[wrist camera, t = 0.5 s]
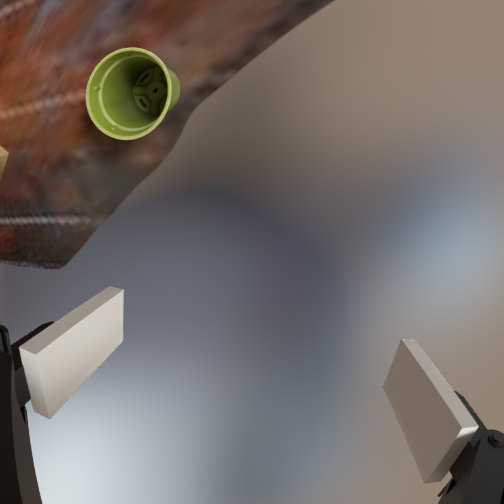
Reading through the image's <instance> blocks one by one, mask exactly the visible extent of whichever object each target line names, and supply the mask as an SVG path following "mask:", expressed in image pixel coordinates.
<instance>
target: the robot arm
mask: <svg viewBox="0 0 504 504" xmlns="http://www.w3.org/2000/svg"><path fill="white" fill-rule="evenodd" d="M123 293H124V291H123V289H119V288H114V287H108V288H106V289H105V290H103V291H102V292H100V293H98V294H97V295H95V296H94V297H92V298H91V299H89V300H88V301H86V302H85V303H83V304H82V305H80V306H79V307H77V308H76V309H74V310H73V311H71V312H70V313H68V314H67V315H65V316H64V317H62V318H61V319H59V320H58V321H56V322H53V321H52V322H49V323H46V324H42V325H41V326H39V327H38V328H36V329H35V330H34V331H32V332H30V333H29V334H28V335H26V336H24V337H23V338H21V339H20V340H18V341H17V342H15V343H14V344H12V345H11V344H10V339H9V333H8V329H7V328H6V327H5V326H2V325H0V504H42V500H41V496H40V492H39V488H38V484H37V478H36V473H35V468H34V463H33V457H32V451H31V444H30V437H29V428H28V419H27V411H26V407H25V404H26V403H27V402H28V401H29V400H30V399H31V402H32V406H33V410H34V411H35V412H36V413H39V414H40V415H42V416H44V417H46V418H48V419H51V418H52V416H53V415H54V414H55V413H56V412H57V411H58V410H59V409H60V408H61V407H62V406H63V404H64V403H65V402H66V401H67V400H68V399H69V398H70V397H71V396H72V395H73V394H74V392H75V391H76V390H77V389H78V388H79V387H80V386H81V385H82V384H83V383H84V382H85V380H87V378H88V377H89V376H90V375H91V374H92V373H93V372H94V371H95V370H96V369H97V368H98V367H99V365H101V363H102V362H103V361H104V360H105V359H106V358H107V357H108V356H109V355H110V354H111V353H112V352H113V351H114V350H115V349H116V348H117V347H118V345H119V344H120V343H121V342H122V341H123ZM383 388H384V390H385V392H386V395H387V397H388V399H389V401H390V403H391V405H392V408H393V410H394V412H395V414H396V417H397V419H398V421H399V424H400V426H401V428H402V431H403V433H404V435H405V438H406V440H407V442H408V445H409V447H410V450H411V452H412V454H413V457H414V459H415V462H416V464H417V467H418V469H419V472H420V474H421V476H422V479H423V481H424V483H432V482H439V481H441V480H442V479H443V478H444V476H445V475H446V474H447V473H448V471H450V473H451V474H452V478H451V480H450V481H449V482H448V483H447V485H446V486H445V487H444V488H443V490H442V491H441V492H440V493H439V494H438V496H439V497H440V496H441V495H442V497H441V499H440V501H439V503H438V504H504V434H503V433H501V432H500V431H497V430H487V429H486V427H485V426H484V424H483V423H482V421H481V420H480V419H479V418H478V416H477V414H476V413H475V412H473V411H474V410H473V409H472V408H471V407H470V406H469V404H468V402H467V401H466V400H465V398H464V397H463V396H462V395H460V394H459V393H458V392H456V391H453V389H452V388H451V387H450V385H449V384H448V383H447V381H446V380H445V379H444V377H443V376H442V375H441V373H440V372H439V371H438V369H437V368H436V367H435V366H434V364H433V363H432V362H431V360H430V359H429V358H428V356H427V355H426V354H425V353H424V351H423V350H422V349H421V347H420V346H419V345H418V344H417V342H416V341H415V340H410V339H401V341H400V344H399V346H398V349H397V351H396V354H395V357H394V360H393V362H392V365H391V367H390V370H389V373H388V375H387V377H386V380H385V382H384V385H383Z"/></svg>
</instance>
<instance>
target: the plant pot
mask: <svg viewBox="0 0 504 504" xmlns="http://www.w3.org/2000/svg"><path fill="white" fill-rule="evenodd" d="M146 74H149V76H148V77H147V78H146V79H145V80H144V81H143V82H141V79H142V78H143V77H144V76H145V75H146ZM154 89H158V91H157V92H156V93H155V92H154ZM179 95H180V82H179V79H178V77H177V76H176V74H175V73H174V72H173V71H171V70H170V69H168V68H166V66H165V64H164V63H163V62H162V61H161V60H160V58H158V57H157V56H156V55H154V54H153V53H151V52H149V51H147V50H144V49H140V48H124V49H120V50H117V51H115V52H113V53H111V54H109V55H108V56H106V57H105V58H104V59H103V60H102V61H101V62H100V63H99V64H98V65H97V66H96V68H95V69H94V71H93V73H92V74H91V76H90V78H89V81H88V85H87V90H86V105H87V110H88V113H89V115H90V117H91V119H92V121H93V123H94V124H95V125H96V126H97V127H98V129H99V130H101V131H102V132H103V133H104V134H106V135H108V136H110V137H112V138H116V139H121V140H132V139H137V138H140V137H142V136H144V135H146V134H148V133H149V132H151V131H152V130H153V129H155V128H156V127H157V126H158V125H159V123H160V122H161V121H162V120H163V118H164V116H165V115H166V113H167V112H168V111H169V110H171V109H172V108H173V107H174V106H175V104H176V103H177V101H178V99H179ZM140 99H142V100H143V102H144V103H145V104H146V105H147V107H144V106H143V105H142V104H141V103H140ZM164 106H165V107H164Z"/></svg>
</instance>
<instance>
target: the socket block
mask: <svg viewBox="0 0 504 504" xmlns="http://www.w3.org/2000/svg"><path fill="white" fill-rule="evenodd" d="M8 155H9V153H8V152H7V151H6V150H5V149H4V148H3V147H1V146H0V182H1V178H2V175H3V171H4V168H5V164H6V161H7V158H8Z"/></svg>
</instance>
